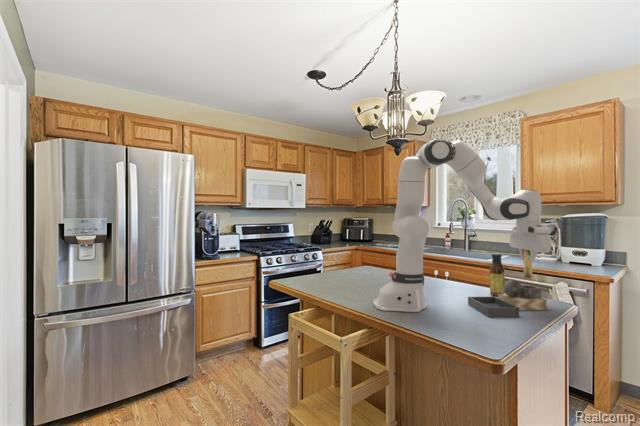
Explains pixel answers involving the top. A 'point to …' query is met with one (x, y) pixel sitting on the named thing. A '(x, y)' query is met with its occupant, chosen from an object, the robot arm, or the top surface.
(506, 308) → the tray
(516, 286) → the block
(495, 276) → the sauce bottle
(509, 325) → the top surface
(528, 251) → the pin
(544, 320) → the top surface
